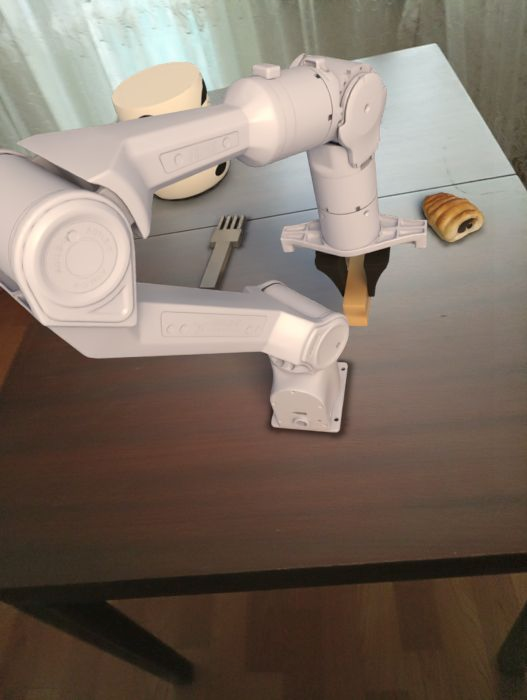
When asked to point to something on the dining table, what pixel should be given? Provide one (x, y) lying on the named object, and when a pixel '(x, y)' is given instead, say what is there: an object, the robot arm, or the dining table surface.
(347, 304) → the disc with handle bar
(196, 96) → the milk container
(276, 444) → the dining table surface
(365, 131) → the robot arm
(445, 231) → the pastry
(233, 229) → the grey-brown pronged block
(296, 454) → the dining table surface
